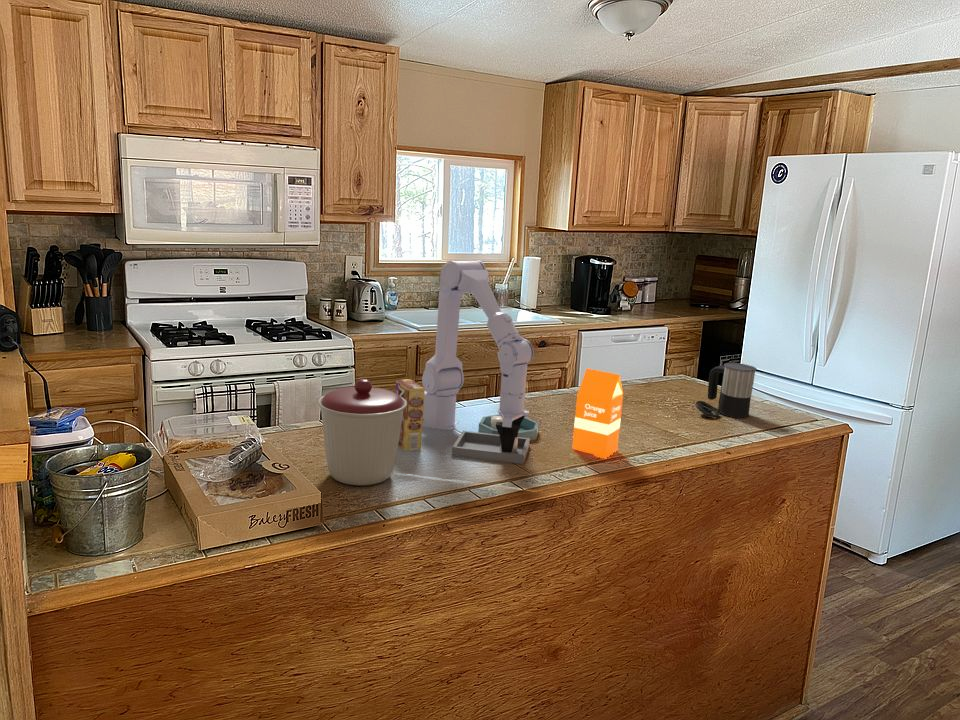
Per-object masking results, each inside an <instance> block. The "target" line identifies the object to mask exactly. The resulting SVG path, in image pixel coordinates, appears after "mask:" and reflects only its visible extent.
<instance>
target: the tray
mask: <svg viewBox="0 0 960 720" xmlns="http://www.w3.org/2000/svg"><path fill="white" fill-rule="evenodd" d="M517 438H518V445H517V453H508V452H500V444H501V442H500V436H499V435H496V434H487V433H478V432H477V431H467V430H462V431H461V433H460V434H459V436H458V438H457V439H456V440H455V442H454V443H453V445H452V446H451V456H453V457H461V458H467V459H468V458H471V459H476V460H477V459H478V460H486V461H494V462H502V463H511V464H520V465H524V463H525V460H526V458H527V455H528V452H529V448H530V444H531V443H530V442H531V441H530V438H522V437H517Z"/></svg>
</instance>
